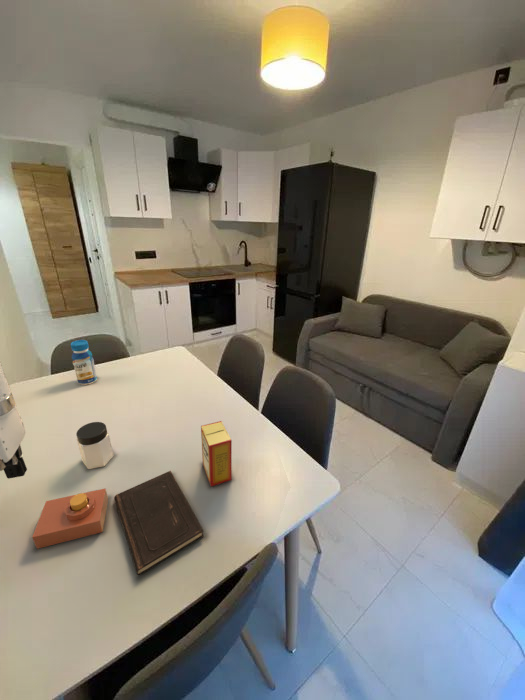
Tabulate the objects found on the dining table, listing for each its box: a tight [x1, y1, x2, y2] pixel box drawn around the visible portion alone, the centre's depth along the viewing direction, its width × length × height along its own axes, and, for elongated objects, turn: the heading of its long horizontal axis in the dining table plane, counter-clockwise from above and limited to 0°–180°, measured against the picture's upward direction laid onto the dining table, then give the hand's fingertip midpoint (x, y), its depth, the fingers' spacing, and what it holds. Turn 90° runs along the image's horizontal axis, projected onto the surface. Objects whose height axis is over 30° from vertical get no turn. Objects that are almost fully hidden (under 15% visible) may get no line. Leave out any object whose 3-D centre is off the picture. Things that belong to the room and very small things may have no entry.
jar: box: [76, 421, 114, 470], centre depth 92 cm, size 9×8×12 cm
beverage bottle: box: [70, 339, 98, 386], centre depth 135 cm, size 8×8×20 cm
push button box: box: [31, 487, 109, 549], centre depth 74 cm, size 14×10×6 cm
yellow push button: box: [70, 492, 88, 511], centre depth 73 cm, size 4×4×2 cm
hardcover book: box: [114, 470, 205, 576], centre depth 77 cm, size 16×23×2 cm
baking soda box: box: [200, 420, 233, 487], centre depth 89 cm, size 10×6×16 cm
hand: (17, 474), depth 65 cm, fingers closed
